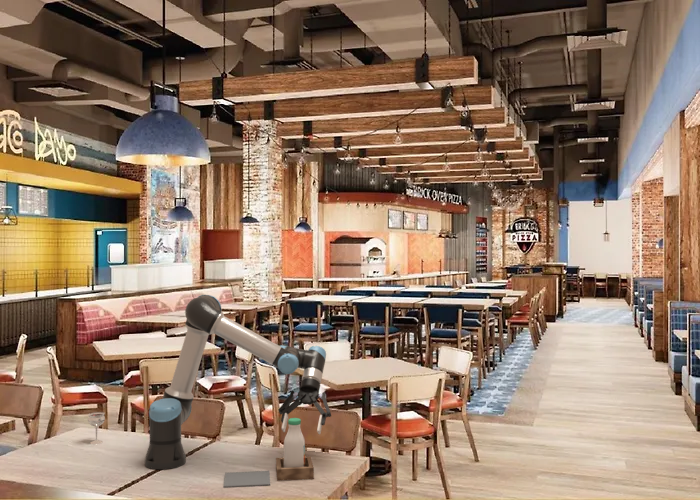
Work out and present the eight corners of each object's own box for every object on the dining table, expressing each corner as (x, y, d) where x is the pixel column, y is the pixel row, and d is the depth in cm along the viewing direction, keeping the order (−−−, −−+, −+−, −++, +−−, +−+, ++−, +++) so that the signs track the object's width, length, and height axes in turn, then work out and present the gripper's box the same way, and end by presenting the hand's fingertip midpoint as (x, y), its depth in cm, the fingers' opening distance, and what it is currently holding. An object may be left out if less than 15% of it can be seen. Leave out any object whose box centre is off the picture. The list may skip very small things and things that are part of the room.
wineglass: (84, 444, 286) (84, 415, 286) (93, 439, 293) (93, 411, 293) (99, 445, 285) (99, 416, 285) (108, 440, 292) (108, 412, 292)
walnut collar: (277, 480, 244) (277, 469, 244) (275, 468, 257) (275, 457, 257) (313, 479, 246) (313, 467, 246) (310, 467, 259) (310, 456, 259)
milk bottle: (301, 478, 247) (301, 422, 247) (281, 476, 248) (281, 421, 248) (307, 470, 254) (307, 417, 254) (287, 469, 256) (287, 415, 256)
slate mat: (223, 487, 237) (223, 486, 237) (225, 473, 251) (225, 472, 251) (270, 485, 239) (270, 484, 239) (269, 471, 253) (269, 470, 253)
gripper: (343, 389, 270) (335, 438, 256) (282, 386, 275) (270, 434, 261) (340, 378, 265) (332, 428, 250) (278, 375, 270) (266, 424, 255)
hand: (300, 431), depth 255 cm, fingers open, 13 cm apart
